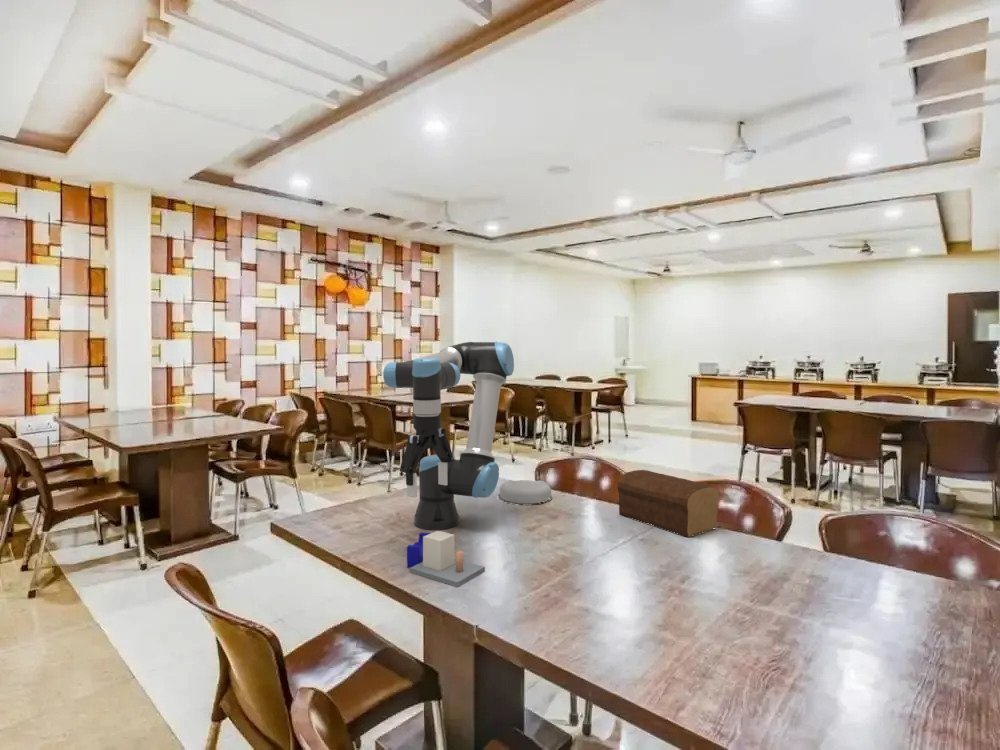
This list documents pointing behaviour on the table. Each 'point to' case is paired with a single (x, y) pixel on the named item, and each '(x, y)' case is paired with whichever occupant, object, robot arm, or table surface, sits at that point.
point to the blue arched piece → (415, 552)
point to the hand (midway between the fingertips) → (428, 490)
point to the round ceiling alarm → (525, 491)
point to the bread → (668, 502)
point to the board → (451, 571)
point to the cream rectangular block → (438, 550)
